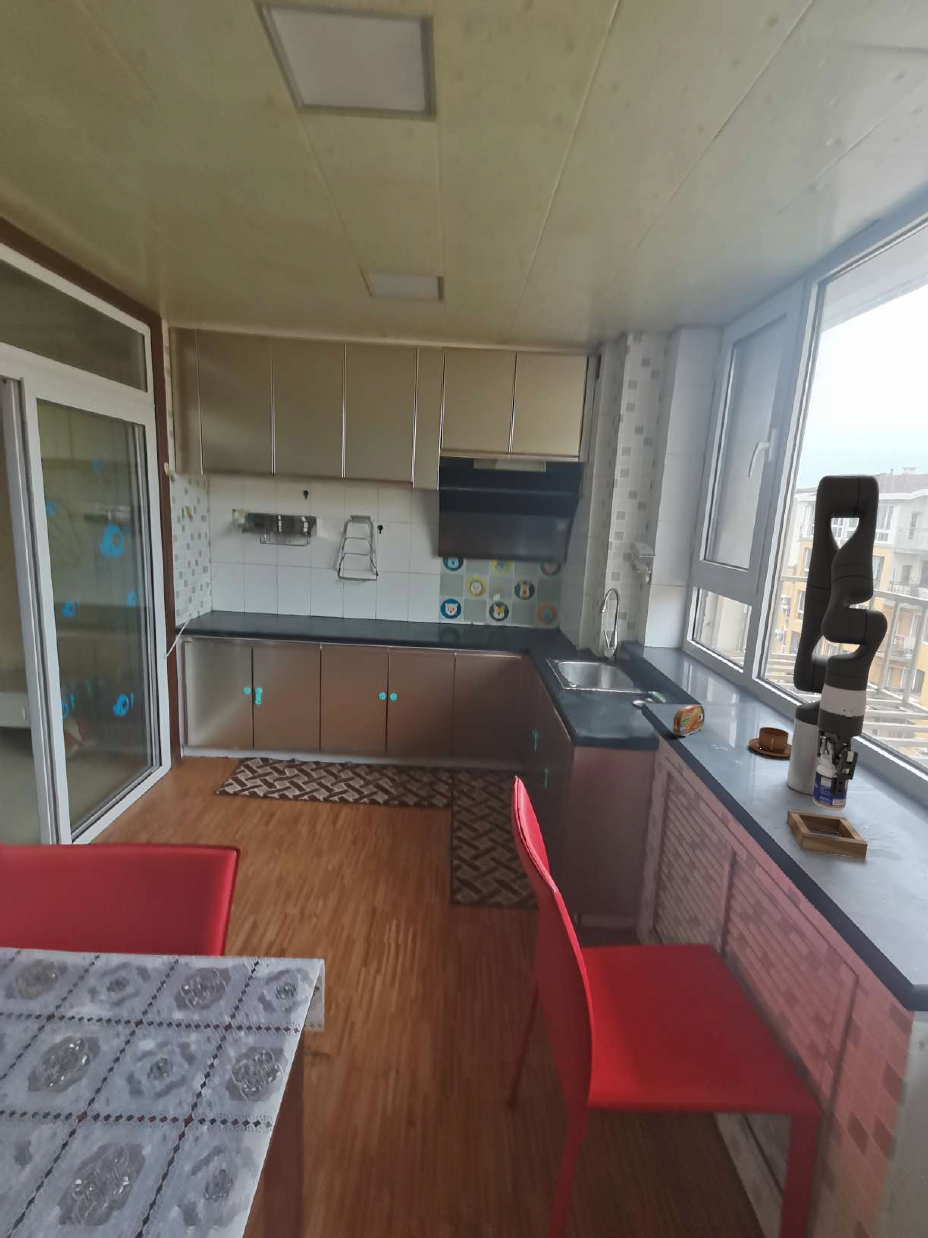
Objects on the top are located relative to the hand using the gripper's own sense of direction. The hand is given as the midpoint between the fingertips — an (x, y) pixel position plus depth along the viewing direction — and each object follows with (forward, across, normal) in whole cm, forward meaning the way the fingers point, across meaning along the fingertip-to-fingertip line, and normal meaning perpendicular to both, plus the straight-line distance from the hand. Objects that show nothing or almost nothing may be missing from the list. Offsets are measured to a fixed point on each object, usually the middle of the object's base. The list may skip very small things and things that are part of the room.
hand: (830, 788), depth 119 cm
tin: (+11, -59, -19) cm, 63 cm away
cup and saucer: (+11, -50, +3) cm, 51 cm away
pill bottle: (+4, 0, 0) cm, 4 cm away
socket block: (+11, 0, 0) cm, 11 cm away
